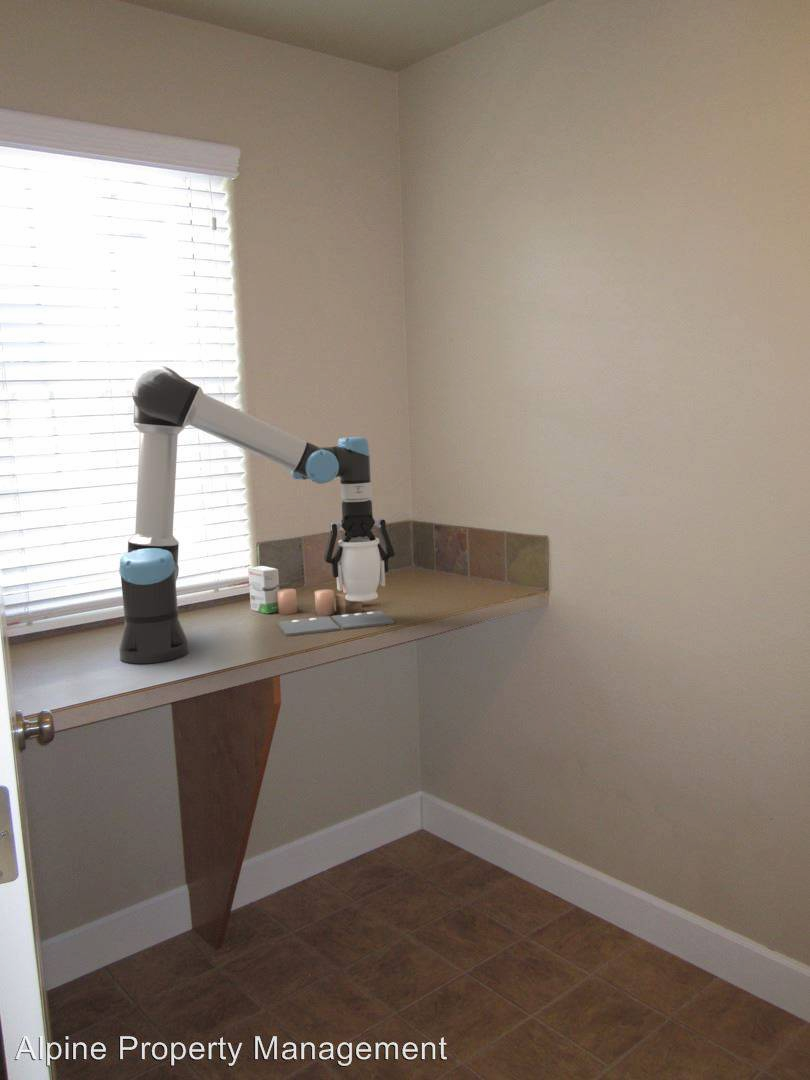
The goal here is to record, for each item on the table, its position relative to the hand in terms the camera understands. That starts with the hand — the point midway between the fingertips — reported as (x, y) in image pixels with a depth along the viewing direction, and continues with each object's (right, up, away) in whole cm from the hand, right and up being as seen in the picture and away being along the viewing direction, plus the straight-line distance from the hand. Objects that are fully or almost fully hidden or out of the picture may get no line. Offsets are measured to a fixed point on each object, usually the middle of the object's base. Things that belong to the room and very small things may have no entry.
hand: (361, 587), depth 223 cm
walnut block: (-4, -7, +11) cm, 14 cm away
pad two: (-13, -10, -3) cm, 16 cm away
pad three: (0, -9, +1) cm, 9 cm away
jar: (0, -3, 0) cm, 3 cm away
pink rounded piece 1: (-10, -7, +11) cm, 17 cm away
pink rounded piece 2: (-3, -6, +18) cm, 20 cm away
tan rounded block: (-20, -7, +14) cm, 26 cm away
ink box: (-27, -7, +18) cm, 33 cm away
